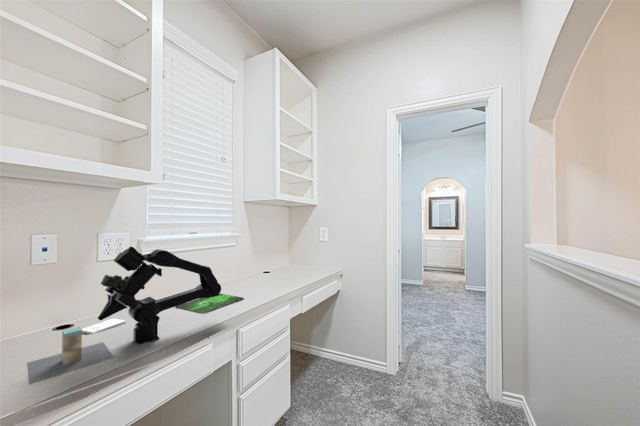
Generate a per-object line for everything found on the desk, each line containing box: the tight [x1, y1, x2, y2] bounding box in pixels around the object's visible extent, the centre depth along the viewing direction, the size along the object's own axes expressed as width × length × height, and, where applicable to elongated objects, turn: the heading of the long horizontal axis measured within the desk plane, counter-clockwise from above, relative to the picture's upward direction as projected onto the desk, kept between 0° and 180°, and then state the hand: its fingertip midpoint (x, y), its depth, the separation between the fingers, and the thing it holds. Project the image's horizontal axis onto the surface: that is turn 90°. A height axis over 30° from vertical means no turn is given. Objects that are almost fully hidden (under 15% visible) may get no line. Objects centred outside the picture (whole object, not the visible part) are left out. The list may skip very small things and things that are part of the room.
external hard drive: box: [81, 318, 127, 335], centre depth 109 cm, size 2×8×12 cm
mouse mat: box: [174, 293, 244, 315], centre depth 141 cm, size 27×22×1 cm
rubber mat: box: [27, 342, 115, 385], centre depth 83 cm, size 18×16×1 cm
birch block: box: [61, 326, 83, 365], centre depth 83 cm, size 4×4×9 cm
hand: (99, 319), depth 88 cm, fingers closed
